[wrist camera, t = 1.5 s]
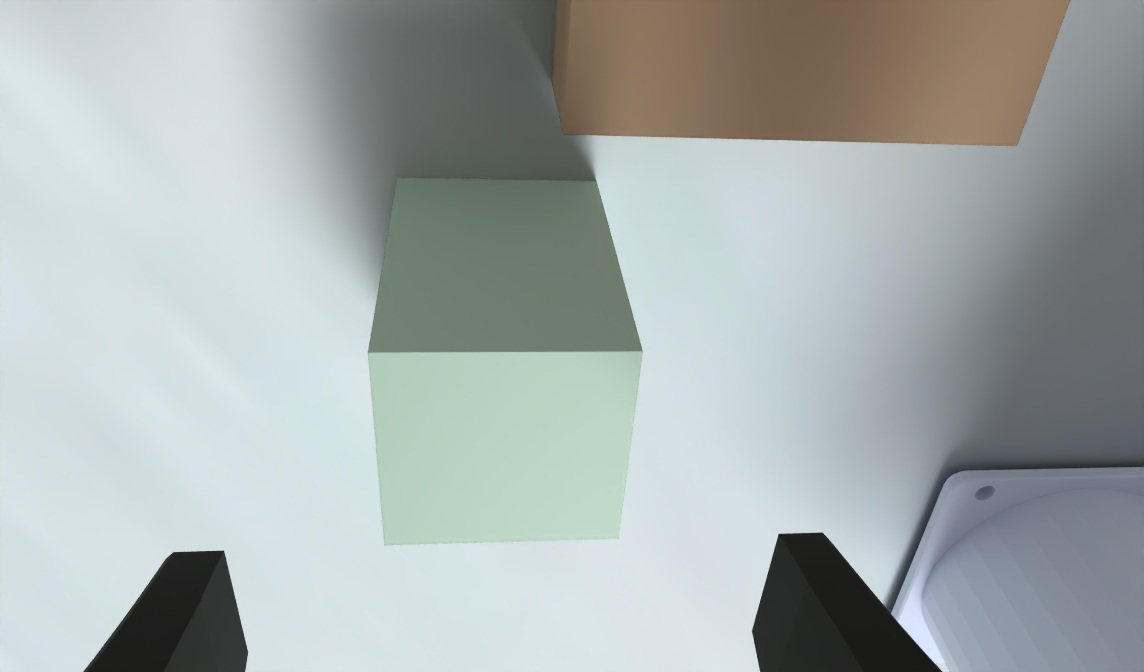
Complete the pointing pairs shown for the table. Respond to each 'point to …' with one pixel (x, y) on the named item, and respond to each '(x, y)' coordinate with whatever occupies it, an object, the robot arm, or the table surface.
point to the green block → (501, 364)
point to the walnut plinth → (803, 68)
